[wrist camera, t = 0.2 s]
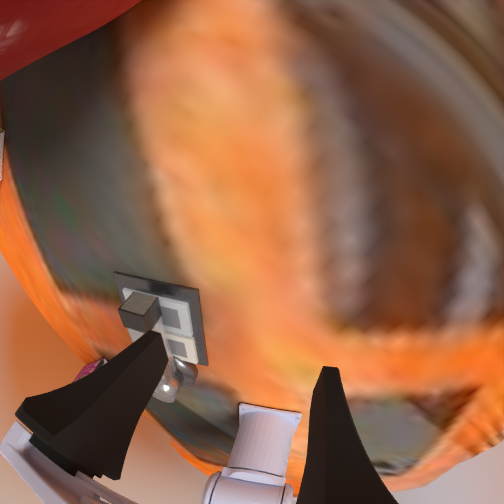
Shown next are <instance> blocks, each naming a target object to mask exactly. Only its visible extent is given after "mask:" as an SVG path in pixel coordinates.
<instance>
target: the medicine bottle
mask: <svg viewBox="0 0 504 504" xmlns="http://www.w3.org/2000/svg"><path fill="white" fill-rule="evenodd" d="M4 136H5V131H4V130H3V129H2V128H0V181H1V180H2V179H3V149H4Z"/></svg>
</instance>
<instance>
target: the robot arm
mask: <svg viewBox="0 0 504 504" xmlns="http://www.w3.org/2000/svg"><path fill="white" fill-rule="evenodd" d="M168 361H169V359H168V356H167V352H166V349H165V346H164V342H163V338H162V335H161V333H159V332H156V331H153V330H149V331H147V332H146V333H145V334H143V335H142V336H141V337H140V338H138V339H137V340H136V341H135V342H133V343H132V344H131V345H130V346H128V347H127V348H126V349H124V350H123V351H122V352H120V353H119V354H118V355H117V356H115V357H114V358H112V359H111V360H110V361H108V362H107V363H105V364H104V365H102V366H101V367H99V368H98V369H96V370H95V371H93V372H92V373H90V374H88V375H86V376H85V377H83V378H81V379H79V380H77V381H75V382H73V383H71V384H68V385H66V386H64V387H61V388H59V389H56V390H53V391H51V392H48V393H44V394H41V395H36V396H32V397H27V398H25V400H24V401H23V403H22V404H21V406H20V407H19V408H18V410H17V411H16V413H15V415H16V417H17V418H18V419H19V420H20V421H21V422H22V423H23V424H25V425H26V426H27V427H28V428H29V429H30V430H31V431H32V432H33V434H32V433H31V432H29V431H28V430H27V429H26V428H25V427H24V426H23V425H22V424H20V423H19V422H18V421H17V420H16V421H15V422H14V424H13V425H12V427H11V428H10V430H9V431H8V433H7V434H6V436H5V438H4V439H3V441H2V442H1V444H0V453H1V454H2V455H3V456H4V457H5V459H6V460H7V461H8V462H9V463H10V464H11V466H12V467H13V468H14V469H15V470H16V471H17V473H18V474H19V475H20V476H21V478H22V479H23V480H24V481H25V482H26V484H27V485H28V486H29V487H30V488H31V489H32V490H33V492H35V494H36V495H37V496H38V497H39V498H40V499H41V500H42V502H43V503H44V504H109V503H106V502H104V501H102V500H100V497H101V498H103V499H105V500H107V501H108V502H110V503H112V504H138V503H136V502H133V501H131V500H129V499H127V498H125V497H123V496H121V495H119V494H118V493H116V492H114V491H112V490H110V489H108V488H107V487H105V486H103V485H101V484H100V483H98V482H96V481H95V480H93V477H94V475H96V476H97V477H99V478H101V477H102V475H105V476H107V477H108V478H110V479H112V480H119V479H120V477H121V472H122V468H123V464H124V460H125V456H126V453H127V450H128V447H129V444H130V441H131V438H132V436H133V433H134V430H135V428H136V425H137V423H138V420H139V418H140V416H141V414H142V412H143V411H144V409H145V407H146V405H147V403H148V402H149V400H150V398H151V396H152V395H153V393H154V391H155V389H156V388H157V386H158V384H159V382H160V380H161V378H162V376H163V374H164V371H165V369H166V366H167V364H168ZM301 418H302V414H301V413H297V412H290V411H283V410H276V409H270V408H265V407H259V406H254V405H249V404H244V403H241V404H240V405H239V429H238V433H237V436H236V439H235V443H234V446H233V449H232V452H231V455H230V458H229V462H228V465H227V468H226V467H223V469H222V472H220V471H217V472H216V473H214V474H212V475H211V476H210V477H209V479H208V481H207V483H206V485H205V488H204V491H203V494H202V500H201V504H291V502H292V497H293V487H292V486H291V484H290V483H286V484H285V480H286V478H285V474H286V469H287V464H288V459H289V454H290V449H291V443H292V438H293V435H294V433H295V431H296V429H297V426H298V424H299V422H300V420H301ZM284 484H285V487H284ZM283 489H284V490H283ZM296 504H398V503H397V501H396V500H395V499H394V497H393V496H392V495H391V493H390V492H389V490H388V489H387V487H386V486H385V485H384V483H383V482H382V480H381V478H380V477H379V475H378V473H377V472H376V470H375V468H374V466H373V465H372V463H371V461H370V459H369V457H368V455H367V453H366V451H365V449H364V447H363V445H362V442H361V440H360V438H359V435H358V433H357V430H356V427H355V425H354V422H353V419H352V416H351V413H350V410H349V407H348V404H347V401H346V397H345V393H344V390H343V386H342V382H341V377H340V372H339V369H338V368H337V367H327V366H323V368H322V370H321V373H320V375H319V378H318V380H317V383H316V385H315V388H314V390H313V395H312V401H311V408H310V418H309V434H308V448H307V458H306V464H305V469H304V474H303V478H302V483H301V487H300V491H299V495H298V498H297V502H296Z"/></svg>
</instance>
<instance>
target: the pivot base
mask: <svg viewBox="0 0 504 504" xmlns="http://www.w3.org/2000/svg"><path fill="white" fill-rule="evenodd" d="M172 356H173V355H172ZM173 360H174V363H175V366H176V370H177V371H178V372H179V373H180V374H181V375H182V376H183V378H184V381H183V383H182V385H181V387H189V386H192V385H193V384H194V382H195V380H196V377H197V375H198V370H197V368H196V366H195V365H194V364H193V363H190V362H187V361H183V360H181V359H179V358H177V357H175V356H173Z"/></svg>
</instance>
